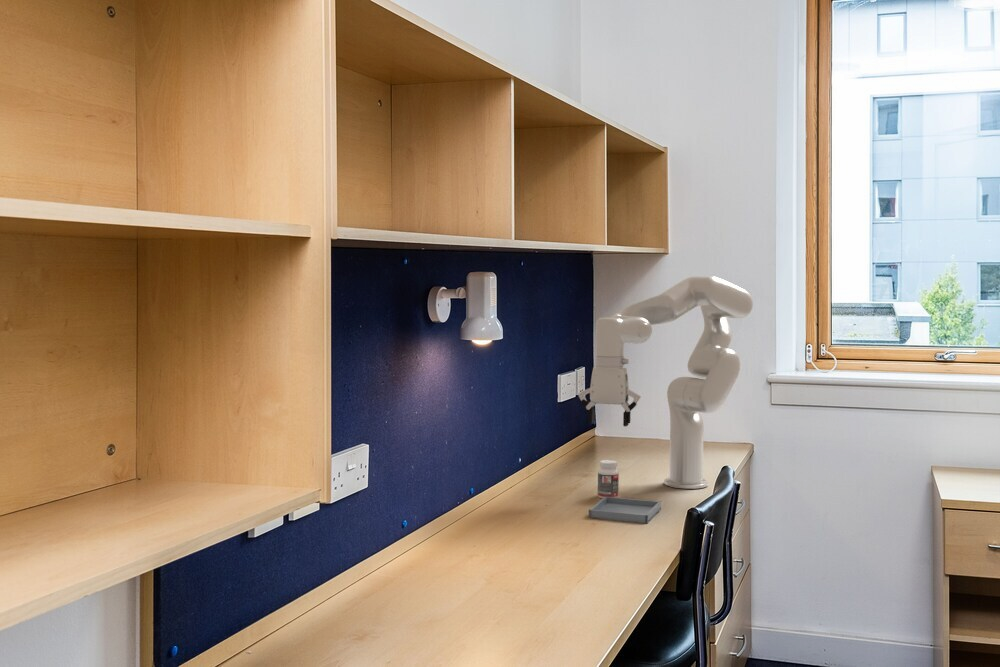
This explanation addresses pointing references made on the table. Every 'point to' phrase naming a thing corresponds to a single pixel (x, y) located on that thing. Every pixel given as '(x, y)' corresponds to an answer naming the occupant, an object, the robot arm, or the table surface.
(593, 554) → the table surface
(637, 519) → the slate tray
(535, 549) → the table surface
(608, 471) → the pill bottle
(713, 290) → the robot arm
